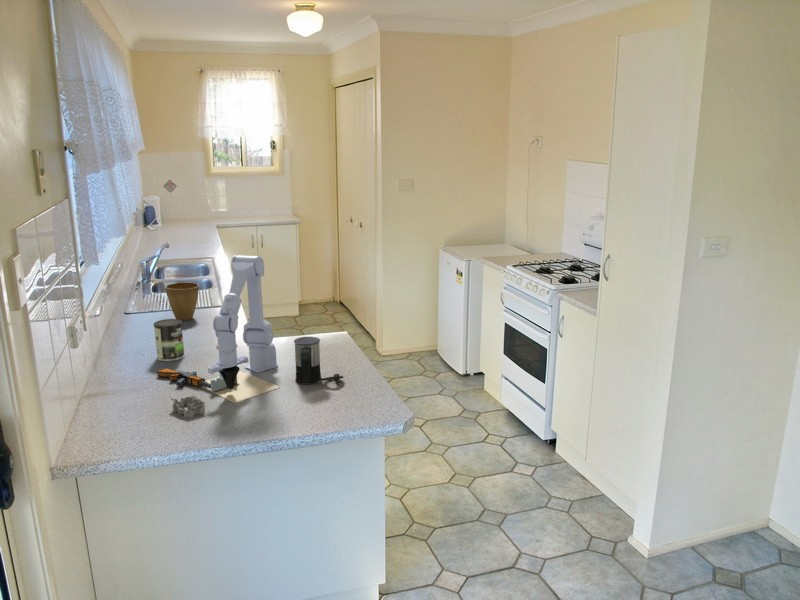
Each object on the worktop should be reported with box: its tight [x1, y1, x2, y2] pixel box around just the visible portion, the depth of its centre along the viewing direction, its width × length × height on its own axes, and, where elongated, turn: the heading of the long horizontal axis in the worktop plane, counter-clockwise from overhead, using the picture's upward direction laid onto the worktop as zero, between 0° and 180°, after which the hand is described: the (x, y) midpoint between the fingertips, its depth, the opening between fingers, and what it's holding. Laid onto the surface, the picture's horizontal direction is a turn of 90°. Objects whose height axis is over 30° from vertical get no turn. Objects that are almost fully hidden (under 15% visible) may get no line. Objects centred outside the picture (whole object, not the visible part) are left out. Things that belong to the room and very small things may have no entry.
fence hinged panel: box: [210, 376, 237, 393], centre depth 224 cm, size 10×1×4 cm, turn 137°
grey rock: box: [170, 394, 206, 418], centre depth 207 cm, size 11×8×4 cm
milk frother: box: [293, 336, 344, 385], centre depth 230 cm, size 14×16×15 cm
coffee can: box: [153, 318, 185, 362], centre depth 255 cm, size 10×10×14 cm
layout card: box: [200, 370, 280, 404], centre depth 227 cm, size 18×24×1 cm
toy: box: [156, 367, 211, 388], centre depth 230 cm, size 2×26×10 cm
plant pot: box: [165, 281, 200, 322], centre depth 307 cm, size 15×15×16 cm
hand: (230, 388), depth 220 cm, fingers closed
